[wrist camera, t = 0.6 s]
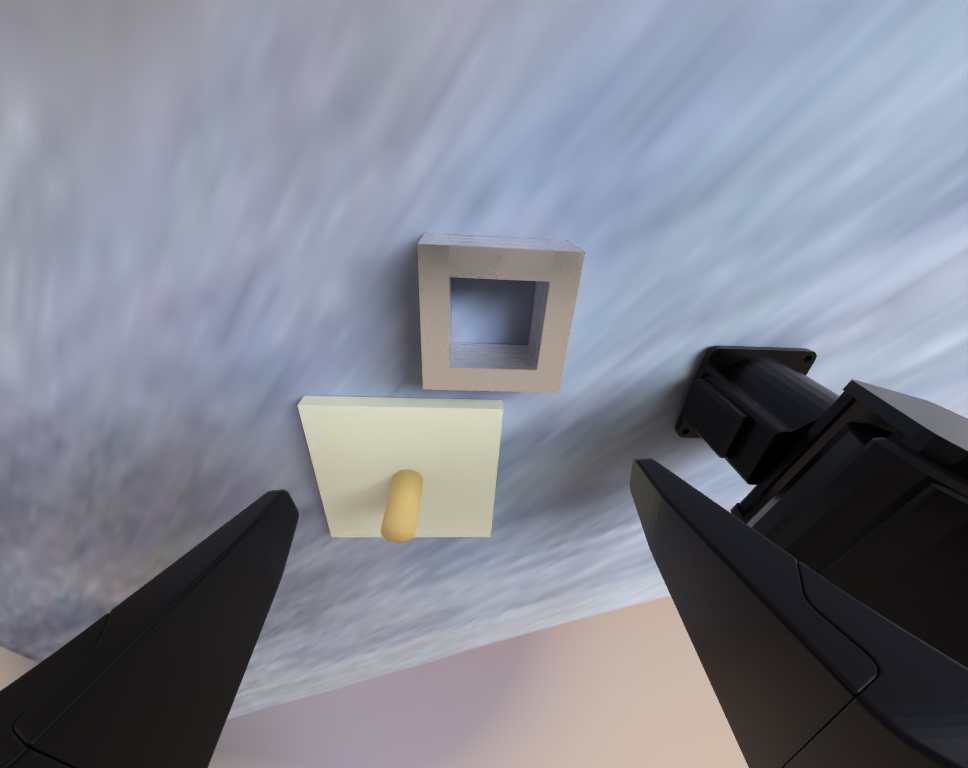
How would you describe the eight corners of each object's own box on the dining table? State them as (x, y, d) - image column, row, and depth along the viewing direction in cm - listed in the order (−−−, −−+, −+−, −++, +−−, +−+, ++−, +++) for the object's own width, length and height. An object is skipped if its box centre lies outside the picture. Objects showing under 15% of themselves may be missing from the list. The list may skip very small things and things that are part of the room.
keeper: (501, 400, 22) (510, 454, 18) (489, 525, 28) (494, 588, 24) (304, 395, 21) (263, 451, 17) (335, 525, 28) (311, 591, 23)
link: (567, 240, 18) (585, 252, 15) (547, 365, 21) (558, 392, 19) (424, 232, 17) (417, 243, 14) (428, 362, 21) (422, 389, 18)
